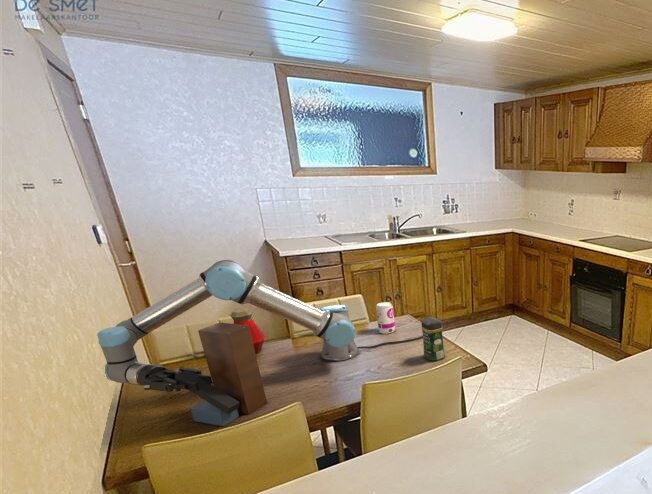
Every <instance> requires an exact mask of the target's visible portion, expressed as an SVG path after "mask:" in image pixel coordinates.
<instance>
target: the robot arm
mask: <svg viewBox="0 0 652 494" xmlns="http://www.w3.org/2000/svg"><path fill="white" fill-rule="evenodd" d="M212 296H213V297H214V298H217V299H219V300H222V301H232V302H234V303H237V304H240V305H245V304H250V305H252V306H255V307H257V308H259V309H262V310H264V311H266V312H268V313H271V314H273V315H276V316H278V317H280V318H283V319H285V320H287V321H289V322H291V323H294V324H296V325H299V326H301V327H304V328H306V329H308V330H310V331H312V333H313V336H314V337H317V338H319V339H322V340H323V342H322V348H321V359H323V360H324V361H328V362H341V361H342V362H343V361H346V360H349V359H352V358H354V357H356V356H357V355H358V354H359V349H373V348H378V347H380V346H384V345H390V344H391V345H392V344H400V343H401V344H402V343H408V342H412V341H418V340H420V339H423V335H421V336H418V337H414V338H410V339H403V340H397V341H396V340H394V341H385V342H381V343H377V344H375V345H369V346H366V345H365V346H364V345H363V346H358V345H357V343H356V342H355V340H354V339H355V338H356V334H357V333H356V332H357V331H356V327H355V325H354V323H353V322H352V320H351V318H350V315H349V309H348V306H347V305H344V304H336V305H335V304H333V305H327V306H323V307H321V308H320V309H318V308H316V307H314V306H312V305H310V304H307V303H305V302H303V301H301V300H299V299H296V298H294V297H292V296H290V295H288V294H286V293H283V291H282V292H281V291H279V290H277V289H275V288H274V287H270V286H269V285H267V284H265V283H262V282H261V281H260V278H259V277H258V276H257V275H254V274H252V273H250V272H249V271H247V270H246V268H245V267H244V265H242V264H241V263H239V262H237V261H235V260H234V259H233V260H232V259H222V260H219V261H216V262H215V263H213V264H212V265H211V266H209V268H207V269H206V270H204V271H202V272H200V273H199V274H198V278H196V279H195V280H193V281H191V282H189V283H188V284H186V285H185V286H182V287H180V288H179V289H178V290H176V291H174V292H172V293H170V294H169V295H167V296H166V297H164V298H162V299H160V300H159V301H157V302H155V303H154V304H152V305H150V306H148V307H147V308H144V309H143V310H142V311H139V312H138V313H136V314H134V315H132V316H131V317H130V318H128V319H125V320H122V321H120V322H119V323H117V324H116V325H115V326H112V327H107V328H104V329H101V330H100V331H98V332H97V334H96V336H97V340H98V344H99V345H100V348H101V350H102V353H103V356H104V358H105V361H106V363H105V364H104V366H105V374H106V377H107V378H106V379H107V380H109V381H111V382H115V383H118V384H129V385H134V386H135V385H136V386H142V387H143V390H144V391H158V392H165V393H172V392H174V390H175V392H181V391H182V390H185V391H187V390H188V391H189V390H193V391H199V387H198V383H196V382H189V381H182V380H181V381H179V383H178V381H175V375H176V374H178V373H180V372H182V371H185V370H189V371H191V372H192V373H194V374H195V375H197V376H199V377H200V378H202V379H203V380H205V381H207V382H208V383H210V384H211V385H213V381H212V378H211V375H206V374H202V373H203V372H202V370H201V369H195V368H191V367H190V368H189V367H185V366H183V365H181V366H179V367H178V368H177V369H176V370H175V369H168V368H166V367H165V366H163V365H159V364H153V363H145V362H139V360H138V356H137V354H136V351H135V348H134V347H135V345H136V344H137V342H138V341H139V340H141V339H142V338H144V337H145V336H147V335H149V334H150V333H152V332H153V331H155V330H158V328H160V327H162V326H164V325H166V324H167V323H169V322H170V321H172V320H174V319H175V318H178V317H179V316H180V315H182V314H184V313H185V312H187V311H189V310H190V309H192V308H194V307H196V306H198V304H201V303H203V302H205V301H206V300H208V299H209V298H210V297H212Z"/></svg>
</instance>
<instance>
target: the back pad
mask: <svg viewBox="0 0 652 494" xmlns="http://www.w3.org/2000/svg"><path fill="white" fill-rule="evenodd" d="M181 380H182V381H189V382H196V383H198V387H199V391H193V390H188V392H191V393H192V394H194V395H195V396H197V397H198V398H200V399H202V400H203V401H207V402H208V403H210V404H212V405H213V406H215V407H216V408H218V409H220V410H221V411H223V412H224V413H226V414H229V413H231V412H233V411H235V410H236V409H238V406H239V403H240V402H238V401H237V400H235V399H234V398H232V397H230V396H229V395H227V394H226V393H224V392H222V391H221V390H219V389H218V388H216V387H214V385H213V384H210V383H208V382H207V381H205V380H203V379H202V378H200V377H199V376H197V375H195V374H194V373H192V372H191V371H189V370H185V371H182V372H180V373H178V374H176V375H175V381H178V383H179V381H181Z"/></svg>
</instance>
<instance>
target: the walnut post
mask: <svg viewBox="0 0 652 494" xmlns="http://www.w3.org/2000/svg"><path fill="white" fill-rule="evenodd" d="M197 332H198V336H199V339H200V342H201V346H202V350H203V353H204V356H205V360H206V363H207V367H208V370H209V375H210V376H211V379H212V382H213V384H212V385H213V386H214V387H216V388H218V389H219V390H221V391H222V392H224V393H226V394H227V395H229V396H230V397H232V398H234V399H235V400H237V401H238V402H240V403H239V406H238V409H237V410H238V414H245V415H250V414H251V413H253V412H255V411H257V410H258V409H259V408H261V407H263V406H265V405H266V404H267V403H268V402H267V397H266V392H265V388H264V384H263V379H262V376H261V372H260V368H259V363H258V359H257V355H256V354H257V353H255V350H254V346H253V341H252V337H251V333H250V329H249V326H248V325H239V324H233V323H229V322H217V323H214V324H212V325H209V326H207V327H204V328H201V329H198V330H197Z"/></svg>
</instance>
